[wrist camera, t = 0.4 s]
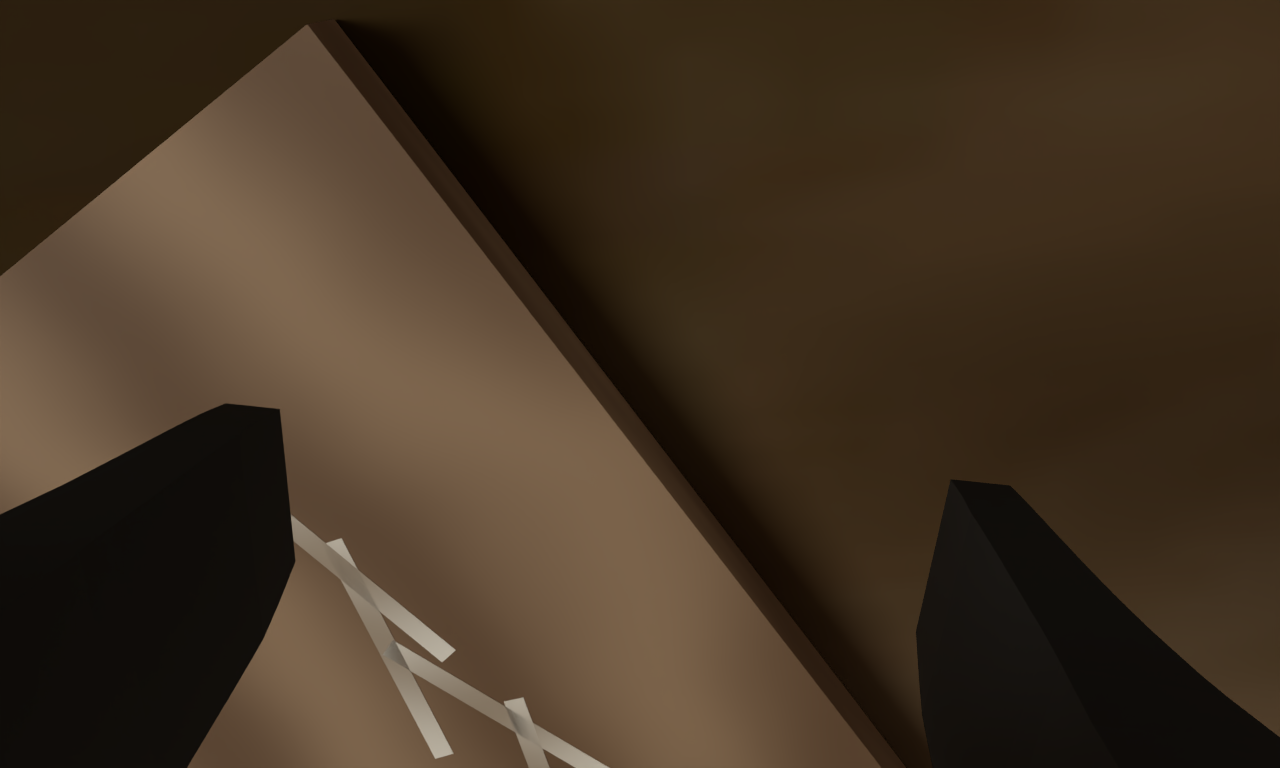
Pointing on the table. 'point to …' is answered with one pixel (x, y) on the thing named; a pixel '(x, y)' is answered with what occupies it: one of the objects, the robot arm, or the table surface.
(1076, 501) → the table surface
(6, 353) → the walnut board
